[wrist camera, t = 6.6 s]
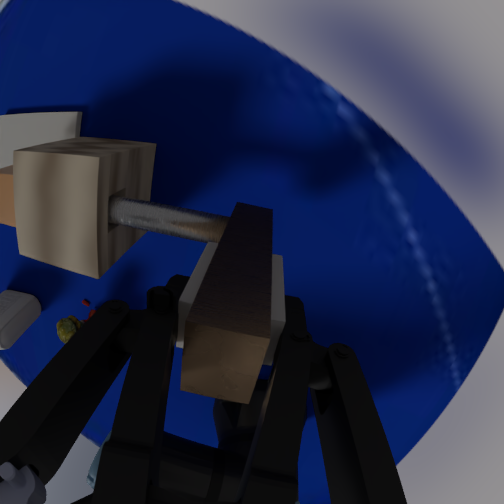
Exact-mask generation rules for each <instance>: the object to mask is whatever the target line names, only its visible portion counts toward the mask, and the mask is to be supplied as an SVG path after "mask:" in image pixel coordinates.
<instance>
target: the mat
mask: <svg viewBox="0 0 504 504" xmlns="http://www.w3.org/2000/svg"><path fill="white" fill-rule="evenodd" d="M81 119H82V112H42V113H24V114H11V115H1V116H0V169H1V168H4V167H7V166H10V165H13V151H14V150H18V149H22V148H27V147H31V146H35V145H40V144H45V143H50V142H55V141H60V140H65V139H71V138H77V137H80V128H81Z"/></svg>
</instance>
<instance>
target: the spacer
mask: <svg viewBox="0 0 504 504" xmlns="http://www.w3.org/2000/svg"><path fill="white" fill-rule="evenodd" d="M0 223H3V224H6V225H10V226H13V227H16V220H15V208H14V189H13V165H10V166H7V167H4V168H1V169H0Z"/></svg>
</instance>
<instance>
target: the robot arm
mask: <svg viewBox="0 0 504 504" xmlns="http://www.w3.org/2000/svg"><path fill="white" fill-rule="evenodd" d="M217 246H218V243H214V242H208V244H207V246H206V247H205V249H204V251H203V253H202V255H201V257H200V259H199V261H198V263H197V265H196V267H195V269H194V271H193V273H192V275H191V277H188V276H183V275H178V274H176V275H175V276H173V277H171V278H170V279H169V281H168V283H167V284H166V286H156V287H153V288H151V289H149V290H148V291H147V309H144V310H129V305H128V304H127V303H126V302H124V301H121V300H110V301H107V302H105V303H104V304H103V305H102V306H101V307H100V308H99V309H98V310H97V311H96V312H95V313H94V314H93V315H92V316H91V317H90V318H89V319H88V320H87V321H86V322H85V324H84V325H83V326H82V327H81V328H80V329H79V330H78V331H77V332H76V333H75V334H74V335H73V336H72V337H71V339H70V340H69V341H68V342H67V343H66V344H65V345H64V346H63V347H62V348H61V350H60V351H59V352H58V353H57V354H56V355H55V356H54V357H53V358H52V360H51V361H50V362H49V363H48V364H47V365H46V366H45V368H44V369H43V370H42V371H41V372H40V373H39V375H38V376H37V377H36V378H35V379H34V380H33V382H32V383H31V384H30V385H29V386H28V388H27V389H26V390H25V391H24V392H23V394H22V395H21V396H20V397H19V398H18V400H17V401H16V402H15V403H14V405H13V406H12V407H11V408H10V410H9V411H8V412H7V414H6V415H5V416H4V417H3V419H2V420H1V421H0V504H44V503H45V501H46V489H45V485H46V484H47V483H48V482H49V481H50V480H51V478H52V477H53V476H54V475H55V474H56V472H57V471H58V469H59V468H60V466H61V464H62V463H63V461H64V459H65V458H66V456H67V454H68V453H69V451H70V449H71V448H72V446H73V444H74V443H75V441H76V440H77V438H78V436H79V435H80V433H81V432H82V430H83V428H84V427H85V425H86V424H87V422H88V420H89V419H90V417H91V416H92V414H93V412H94V411H95V409H96V408H97V406H98V405H99V403H100V402H101V400H102V398H103V397H104V395H105V394H106V392H107V391H108V389H109V388H110V386H111V385H112V383H113V382H114V380H115V379H116V377H117V376H118V374H119V373H120V371H121V370H122V368H123V367H124V365H125V364H126V362H127V361H128V359H129V358H130V356H131V355H132V356H131V359H130V363H129V366H128V370H127V373H126V377H125V380H124V384H123V388H122V391H121V395H120V399H119V403H118V407H117V411H116V415H115V419H114V423H113V427H112V430H111V432H110V433H109V434H108V436H107V437H106V439H105V440H104V442H103V444H102V445H101V447H100V449H99V451H98V453H97V454H96V456H95V458H94V460H93V462H92V464H91V467H90V470H89V474H88V476H87V483H88V484H89V485H90V486H91V487H92V488H93V489H94V491H93V493H92V494H90V495H88V496H86V497H84V498H82V499H80V500H78V501H75V502H73V503H71V504H300V502H298V456H299V450H300V444H301V437H302V431H303V428H304V425H305V422H306V419H307V405H306V400H307V391H308V387H310V392H311V397H312V402H313V407H314V412H315V417H316V422H317V427H318V432H319V438H320V443H321V448H322V454H323V459H324V465H325V470H326V476H327V482H328V487H329V493H330V499H331V504H407V502H406V498H405V495H404V492H403V488H402V485H401V481H400V478H399V475H398V472H397V469H396V465H395V462H394V459H393V456H392V453H391V450H390V447H389V444H388V441H387V438H386V435H385V432H384V429H383V426H382V423H381V421H380V418H379V415H378V412H377V409H376V407H375V404H374V401H373V398H372V396H371V393H370V390H369V388H368V385H367V382H366V380H365V377H364V375H363V372H362V369H361V367H360V364H359V362H358V359H357V357H356V354H355V352H354V351H353V349H351V348H350V347H349V346H347V345H345V344H341V343H334V344H332V345H330V346H329V348H326V347H323V346H320V345H318V344H316V343H315V342H313V339H312V336H311V335H310V333H308V332H307V327H306V319H305V312H304V305H303V303H302V301H301V300H300V299H299V298H298V297H292V296H287V295H284V278H283V261H282V256H280V255H275V254H272V294H271V334H270V342H269V345H268V348H267V351H266V354H265V357H264V360H263V363H262V364H265V365H272V362H273V368H272V371H271V373H270V376H269V379H268V380H257V381H256V384H255V387H254V390H253V393H252V396H251V399H250V401H249V404H245V403H239V402H233V401H228V400H223V399H218V398H215V402H214V407H213V417H214V422H215V427H216V432H217V436H218V441H219V444H218V448H214V447H211V446H208V445H204V444H201V443H197V442H194V441H191V440H188V439H185V438H182V437H179V436H176V435H173V434H170V433H167V432H165V431H164V422H165V414H166V406H167V398H168V391H169V383H170V376H171V370H172V363H173V356H174V345H175V342H176V340H177V343H176V347H180V348H183V343H184V331H185V321H186V318H187V316H188V313H189V311H190V309H191V306H192V304H193V301H194V299H195V297H196V294H197V292H198V290H199V287H200V285H201V283H202V280H203V278H204V276H205V273H206V271H207V269H208V266H209V264H210V262H211V259H212V257H213V255H214V253H215V250H216V248H217ZM273 359H274V360H273Z"/></svg>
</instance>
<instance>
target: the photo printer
mask: <svg viewBox="0 0 504 504" xmlns="http://www.w3.org/2000/svg"><path fill="white" fill-rule="evenodd" d="M40 314H41V305H40V303H39V301H38V299H37V298H36V297H35V296H33V295H31V294H27V293H22V292H17V291H12V290H5V291H3V292H2V293H1V294H0V350H3V349H8V348H10V347H11V346H12V345H13V344H14V343H15V341H16V340H17V339H18V338H19V337H20V336H21V335H22V334H23V333H24V332H25V331H26V329H27V328H28V327H29V326H30V325H31V324H32V323H33V322H34V321H35V320H36V319H37V318H38V317H39V316H40Z"/></svg>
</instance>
